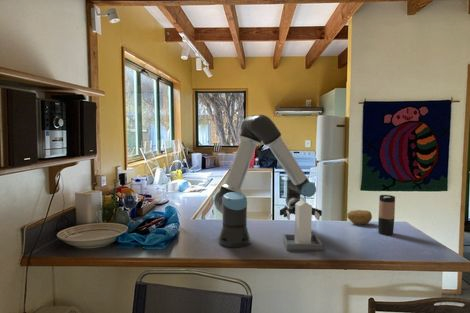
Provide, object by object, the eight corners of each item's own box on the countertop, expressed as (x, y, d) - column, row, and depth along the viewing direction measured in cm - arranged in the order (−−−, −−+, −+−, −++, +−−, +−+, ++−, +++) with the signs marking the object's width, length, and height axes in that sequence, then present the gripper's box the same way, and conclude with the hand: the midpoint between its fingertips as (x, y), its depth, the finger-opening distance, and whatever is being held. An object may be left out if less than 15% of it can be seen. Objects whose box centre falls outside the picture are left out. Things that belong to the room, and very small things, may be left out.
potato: (344, 221, 193) (344, 208, 193) (368, 221, 193) (368, 208, 192) (349, 226, 183) (349, 212, 183) (374, 226, 183) (375, 212, 182)
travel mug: (390, 231, 174) (392, 195, 173) (396, 235, 167) (397, 197, 165) (375, 230, 175) (377, 194, 173) (380, 235, 167) (382, 197, 166)
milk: (298, 246, 149) (299, 199, 147) (294, 242, 155) (295, 196, 153) (311, 245, 149) (312, 199, 148) (306, 241, 155) (307, 196, 154)
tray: (286, 250, 145) (287, 244, 145) (283, 240, 159) (283, 234, 159) (322, 251, 145) (322, 244, 145) (315, 240, 159) (315, 234, 159)
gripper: (319, 213, 169) (330, 225, 148) (272, 213, 170) (276, 224, 148) (320, 199, 168) (331, 209, 147) (272, 199, 169) (276, 208, 148)
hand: (303, 217), depth 148 cm, fingers open, 13 cm apart
